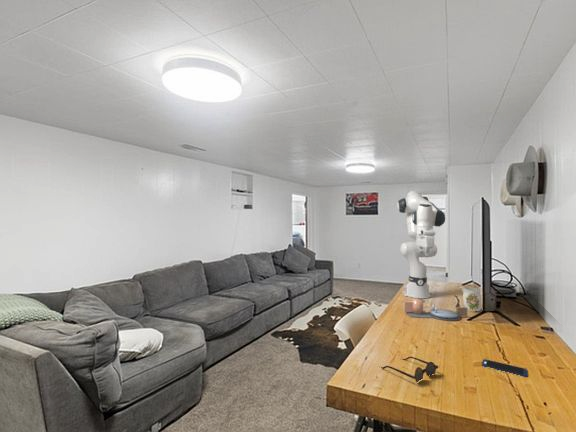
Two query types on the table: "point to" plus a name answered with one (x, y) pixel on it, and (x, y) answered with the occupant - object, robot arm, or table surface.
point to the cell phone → (505, 367)
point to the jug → (414, 306)
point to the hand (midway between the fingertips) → (424, 254)
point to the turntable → (448, 312)
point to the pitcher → (471, 298)
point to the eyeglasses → (418, 369)
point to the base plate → (444, 318)
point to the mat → (425, 315)
